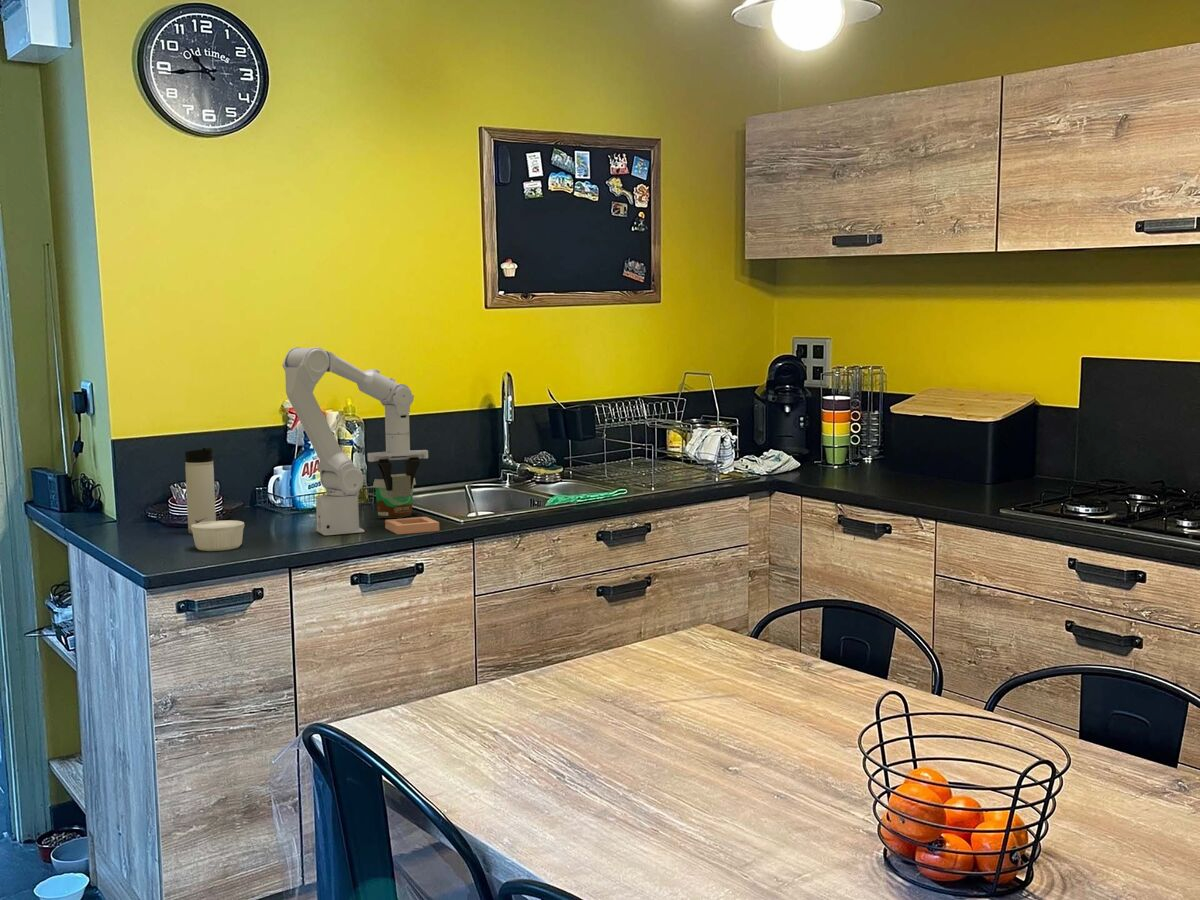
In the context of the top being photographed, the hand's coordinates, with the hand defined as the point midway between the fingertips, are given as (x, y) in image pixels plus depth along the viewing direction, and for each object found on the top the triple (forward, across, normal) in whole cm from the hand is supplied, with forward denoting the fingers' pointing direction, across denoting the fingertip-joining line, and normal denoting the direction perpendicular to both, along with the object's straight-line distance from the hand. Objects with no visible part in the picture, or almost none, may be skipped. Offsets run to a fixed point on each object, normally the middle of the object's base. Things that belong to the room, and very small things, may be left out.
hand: (399, 489), depth 287 cm
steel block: (+2, 0, 0) cm, 2 cm away
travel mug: (+9, +44, -12) cm, 47 cm away
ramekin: (+9, +44, +10) cm, 46 cm away
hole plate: (+8, 0, +10) cm, 13 cm away
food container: (+9, -4, -11) cm, 15 cm away
